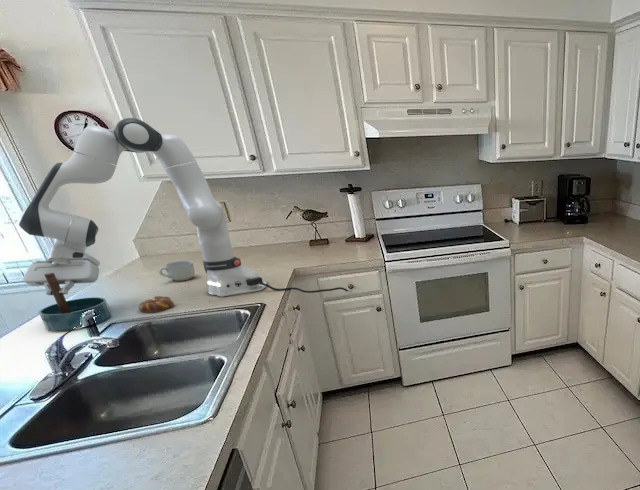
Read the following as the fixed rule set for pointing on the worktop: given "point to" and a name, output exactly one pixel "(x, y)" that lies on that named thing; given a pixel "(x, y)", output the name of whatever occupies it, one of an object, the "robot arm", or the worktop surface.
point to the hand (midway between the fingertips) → (56, 294)
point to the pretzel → (156, 304)
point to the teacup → (178, 270)
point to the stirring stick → (57, 293)
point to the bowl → (73, 313)
